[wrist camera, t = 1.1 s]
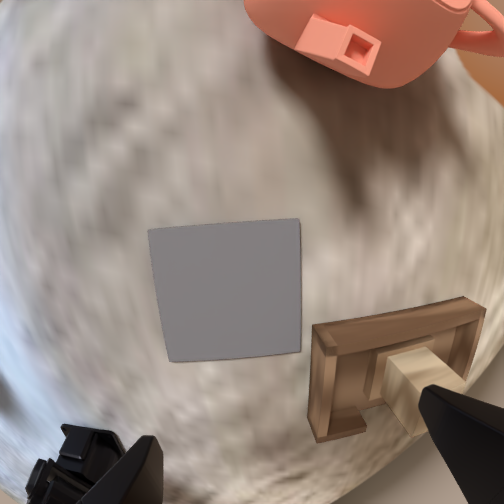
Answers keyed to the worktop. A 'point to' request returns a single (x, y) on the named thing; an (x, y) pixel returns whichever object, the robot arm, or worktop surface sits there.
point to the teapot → (377, 34)
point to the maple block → (415, 384)
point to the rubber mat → (228, 288)
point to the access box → (381, 358)
